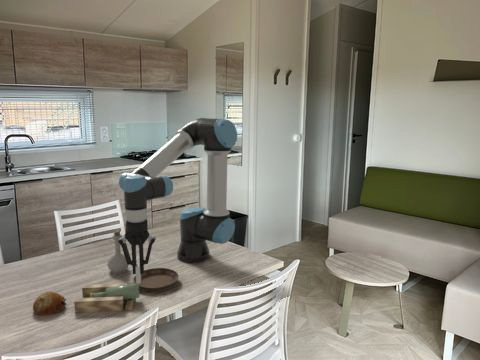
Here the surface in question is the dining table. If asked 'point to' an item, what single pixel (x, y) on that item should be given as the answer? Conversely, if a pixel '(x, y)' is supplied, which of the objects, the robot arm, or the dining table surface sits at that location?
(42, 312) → the bread roll
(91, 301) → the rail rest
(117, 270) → the potion bottle
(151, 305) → the dining table surface
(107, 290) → the bottle
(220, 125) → the robot arm
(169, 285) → the plant saucer
